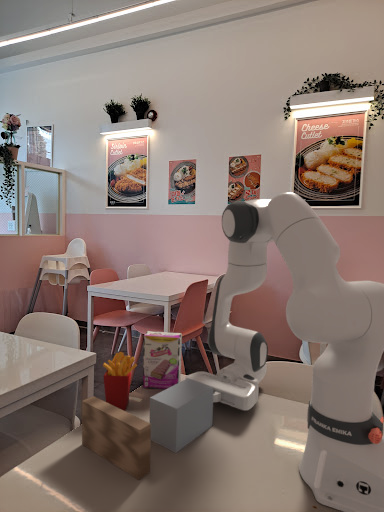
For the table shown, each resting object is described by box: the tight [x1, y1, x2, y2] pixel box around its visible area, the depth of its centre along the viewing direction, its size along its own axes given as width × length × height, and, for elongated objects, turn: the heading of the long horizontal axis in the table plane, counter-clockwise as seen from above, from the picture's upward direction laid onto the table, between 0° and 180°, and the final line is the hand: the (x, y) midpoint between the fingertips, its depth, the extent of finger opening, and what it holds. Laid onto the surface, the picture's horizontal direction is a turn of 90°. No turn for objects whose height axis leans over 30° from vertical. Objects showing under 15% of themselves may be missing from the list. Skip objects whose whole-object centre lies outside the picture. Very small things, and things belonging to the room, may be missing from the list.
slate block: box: [149, 378, 214, 454], centre depth 86 cm, size 8×14×10 cm, turn 142°
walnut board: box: [81, 395, 152, 481], centre depth 76 cm, size 18×3×10 cm, turn 53°
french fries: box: [102, 351, 138, 411], centre depth 98 cm, size 9×8×15 cm
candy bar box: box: [142, 330, 183, 390], centre depth 110 cm, size 11×5×16 cm, turn 84°
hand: (202, 399), depth 92 cm, fingers closed
